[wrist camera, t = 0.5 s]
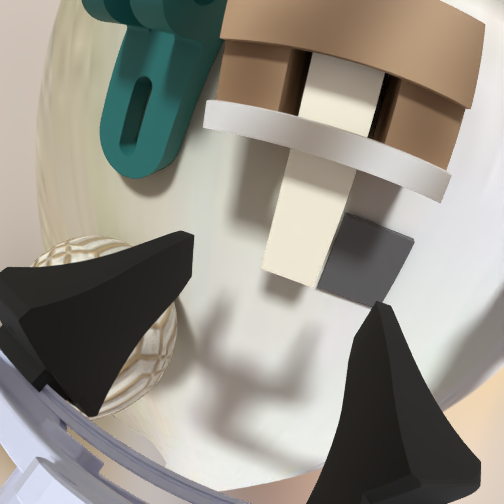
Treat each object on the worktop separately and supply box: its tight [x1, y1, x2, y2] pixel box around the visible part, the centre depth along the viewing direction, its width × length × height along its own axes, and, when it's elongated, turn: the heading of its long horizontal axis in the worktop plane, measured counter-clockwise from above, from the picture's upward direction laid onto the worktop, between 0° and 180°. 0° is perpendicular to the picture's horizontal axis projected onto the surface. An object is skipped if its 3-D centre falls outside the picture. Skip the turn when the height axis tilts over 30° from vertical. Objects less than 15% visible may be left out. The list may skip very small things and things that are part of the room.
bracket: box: [82, 0, 228, 179], centre depth 13 cm, size 18×7×8 cm, turn 153°
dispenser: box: [203, 0, 485, 203], centre depth 11 cm, size 10×8×7 cm
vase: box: [30, 236, 177, 421], centre depth 21 cm, size 16×16×20 cm
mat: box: [317, 213, 415, 307], centre depth 19 cm, size 5×6×1 cm
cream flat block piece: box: [261, 52, 385, 288], centre depth 14 cm, size 3×12×6 cm, turn 167°
